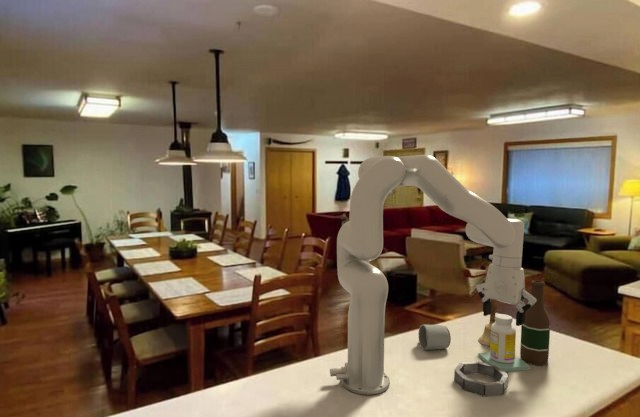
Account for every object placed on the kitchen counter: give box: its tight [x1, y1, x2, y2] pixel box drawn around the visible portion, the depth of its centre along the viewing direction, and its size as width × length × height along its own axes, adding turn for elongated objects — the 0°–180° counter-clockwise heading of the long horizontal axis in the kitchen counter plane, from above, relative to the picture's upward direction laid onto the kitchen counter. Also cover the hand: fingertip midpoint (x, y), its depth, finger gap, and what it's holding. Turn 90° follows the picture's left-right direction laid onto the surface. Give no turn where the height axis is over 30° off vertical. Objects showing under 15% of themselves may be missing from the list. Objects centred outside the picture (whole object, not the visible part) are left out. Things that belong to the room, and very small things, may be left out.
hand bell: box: [478, 299, 499, 347], centre depth 134 cm, size 8×8×16 cm
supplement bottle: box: [489, 313, 517, 363], centre depth 120 cm, size 7×7×13 cm
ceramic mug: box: [418, 324, 452, 351], centre depth 132 cm, size 11×8×8 cm
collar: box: [453, 360, 509, 398], centre depth 109 cm, size 12×12×3 cm
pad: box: [477, 351, 531, 372], centre depth 121 cm, size 10×10×1 cm
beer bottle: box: [519, 279, 551, 367], centre depth 121 cm, size 8×8×24 cm
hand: (502, 319), depth 119 cm, fingers open, 9 cm apart
